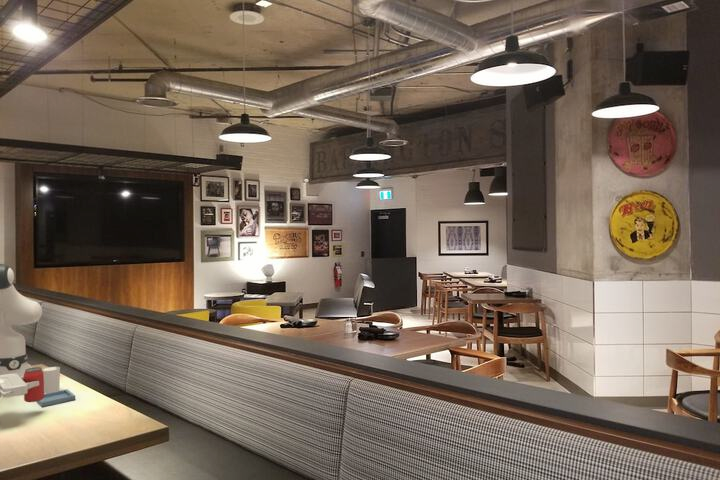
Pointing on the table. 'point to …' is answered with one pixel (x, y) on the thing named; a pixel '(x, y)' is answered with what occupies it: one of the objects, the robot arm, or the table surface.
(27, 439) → the table surface
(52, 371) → the white coffee cup
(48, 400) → the slate tray
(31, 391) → the beer can
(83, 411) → the table surface
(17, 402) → the table surface
